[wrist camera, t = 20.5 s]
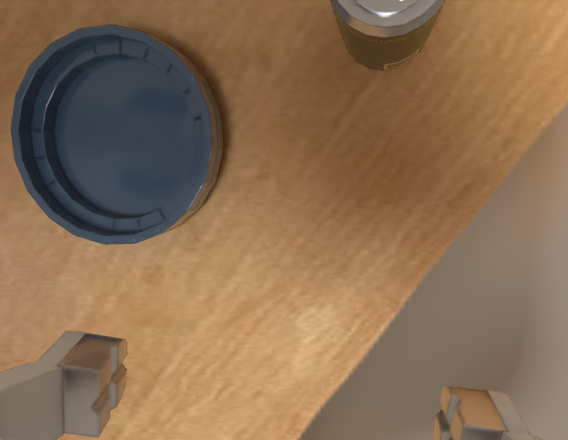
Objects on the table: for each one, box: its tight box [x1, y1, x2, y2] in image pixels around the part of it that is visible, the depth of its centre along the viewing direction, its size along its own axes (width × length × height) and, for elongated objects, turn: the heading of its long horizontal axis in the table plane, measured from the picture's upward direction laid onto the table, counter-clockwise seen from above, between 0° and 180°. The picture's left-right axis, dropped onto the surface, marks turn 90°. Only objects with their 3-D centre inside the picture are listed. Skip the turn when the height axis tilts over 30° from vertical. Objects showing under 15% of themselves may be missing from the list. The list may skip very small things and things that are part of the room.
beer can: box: [330, 0, 445, 71], centre depth 27 cm, size 5×5×12 cm
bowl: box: [11, 25, 223, 245], centre depth 35 cm, size 14×14×3 cm
